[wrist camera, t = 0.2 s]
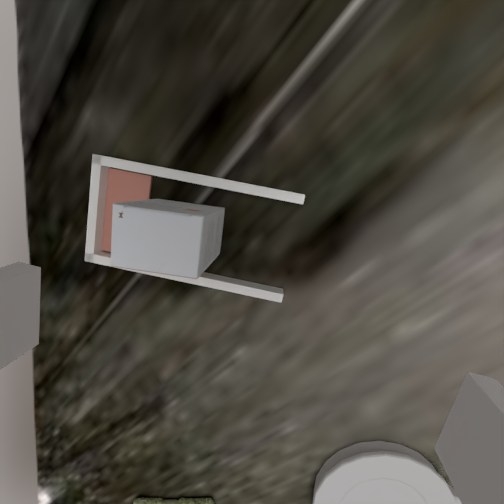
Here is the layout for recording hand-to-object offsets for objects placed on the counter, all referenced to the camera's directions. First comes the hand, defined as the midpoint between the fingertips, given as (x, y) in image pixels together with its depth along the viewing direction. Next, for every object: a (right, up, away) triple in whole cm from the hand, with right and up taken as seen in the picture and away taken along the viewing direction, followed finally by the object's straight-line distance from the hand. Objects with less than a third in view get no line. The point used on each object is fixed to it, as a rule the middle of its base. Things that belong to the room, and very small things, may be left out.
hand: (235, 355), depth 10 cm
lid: (+18, -29, +33) cm, 47 cm away
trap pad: (-14, +8, +28) cm, 32 cm away
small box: (-7, +6, +28) cm, 29 cm away
